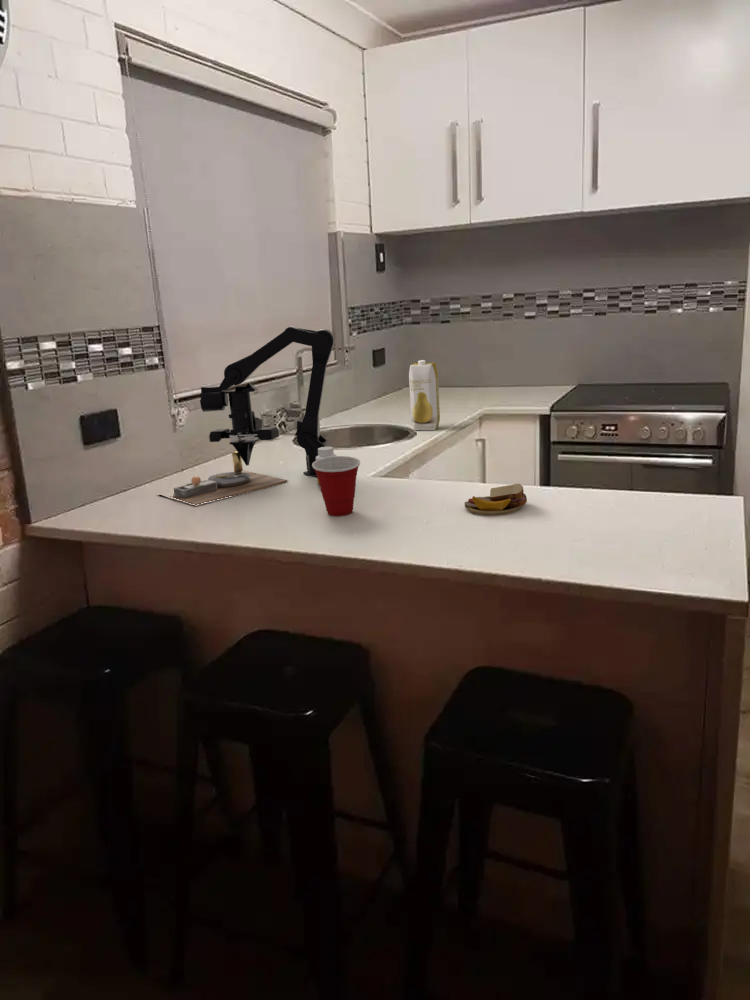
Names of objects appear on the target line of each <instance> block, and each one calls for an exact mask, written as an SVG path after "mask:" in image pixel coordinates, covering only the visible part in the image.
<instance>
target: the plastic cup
mask: <svg viewBox="0 0 750 1000" xmlns="http://www.w3.org/2000/svg"><path fill="white" fill-rule="evenodd" d="M360 465H361V460H360V459H359V458H357V457H353V456H346V455H345V456H343V455H338V456H335V457H327V458H322V459H319V460H316V461H315V462H313V463H312V467H313V468H314V470H315V472H316V474H317V477H316V478H318V479H317V481H318V480H319V484H320V487H319V488H320V491H321V496H322V498H323V502H324V505H325V509H326V513H327V515H328V516H333V517H343V516H348V515H349V514H350V515H351V514H352V513H353V512H354V511H353V510H354V501H355V495H356V494H355V493H356V485H357V476H358V471H359V470H358V469H359V467H360Z"/></svg>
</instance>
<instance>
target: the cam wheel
mask: <svg viewBox="0 0 750 1000" xmlns="http://www.w3.org/2000/svg"><path fill="white" fill-rule="evenodd" d="M231 457H232V463H233V471H230V472H229V471H228V472H221V473H220V472H219V473H216V474H213V475H211V476H209V477H208V478H207V479H208V481H209V480H211V481H215V482H217V488H224V487H232V486H237V485H242V484H246V483H248V482H250V475H249V473H246V472H243V471H244V468H243V459H242V458H241V456H240V454H239V453H238V451H237V450H235V451H232V452H231Z"/></svg>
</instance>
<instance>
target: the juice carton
mask: <svg viewBox="0 0 750 1000" xmlns="http://www.w3.org/2000/svg"><path fill="white" fill-rule="evenodd" d="M408 381H409V382H408V383H409V398H410V400H409V401H410V415H411V426H412V428H413V431H415V430H422V431H436V430H437V429H438V428H439V426H440V421H441V419H440V418H441V414H440V413H441V411H440V409H441V408H440V391H439V390H440V388H439V387H440V386H439V372H438V367H437V364H436V362H428V363H427V362H426V360H425V359H420V360H417V363H416V362H415V363H412V364H410V366H409V371H408Z"/></svg>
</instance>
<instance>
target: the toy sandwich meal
mask: <svg viewBox="0 0 750 1000" xmlns="http://www.w3.org/2000/svg"><path fill="white" fill-rule="evenodd" d="M527 498H528V497H527V495H526V494H525V493H524V486H523V485H522V484H520V483H514V484H511V485H510V484H508V485H503V486H497V487H491V488H490V494H489V495H487V496H474V495H473V496H472V497H471V498H468V500H467V501H465V502H464V507H465V509H466V510H468V511H469V512H470V513H473V514H476V515H478V516H503V515H508V514H512V513H515V512H517V511H518V510H519V509H520V508H521V507H522V506H525V505H526V504H527V502H528V500H527Z"/></svg>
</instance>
